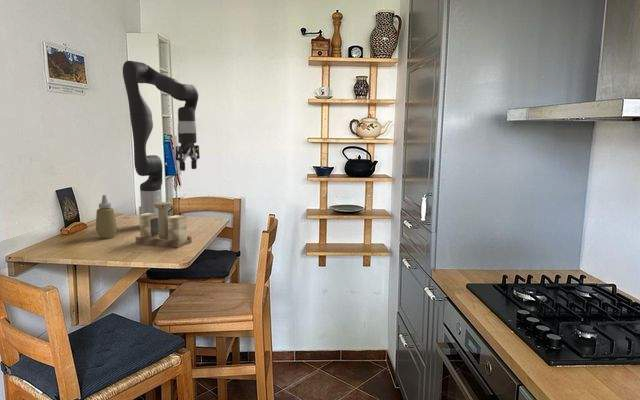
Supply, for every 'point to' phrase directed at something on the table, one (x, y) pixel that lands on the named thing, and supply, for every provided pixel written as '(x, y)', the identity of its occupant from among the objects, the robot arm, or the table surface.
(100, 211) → the squeeze bottle
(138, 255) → the table surface
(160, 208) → the beige tall post
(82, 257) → the table surface
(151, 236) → the beige block structure
